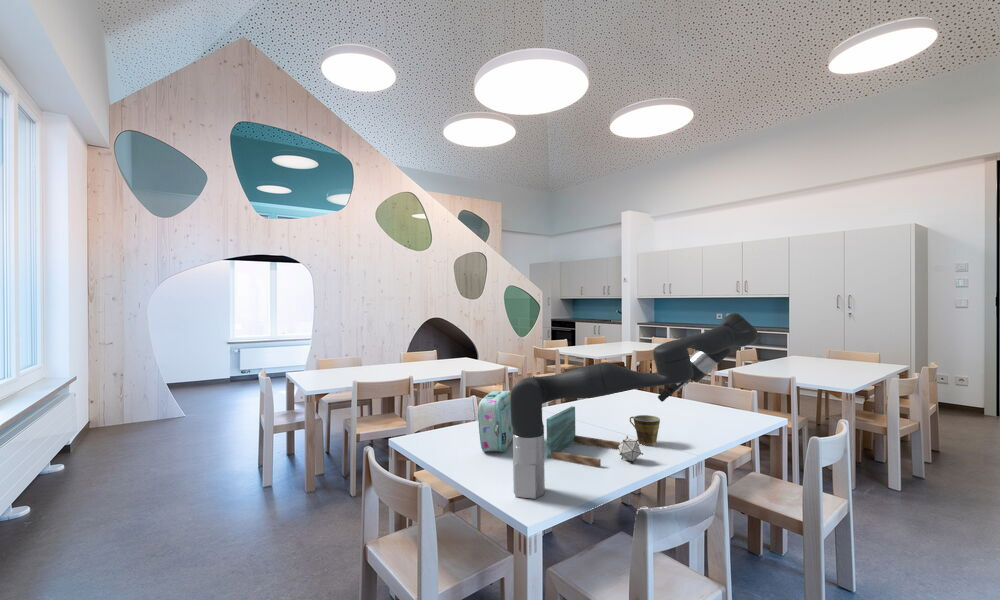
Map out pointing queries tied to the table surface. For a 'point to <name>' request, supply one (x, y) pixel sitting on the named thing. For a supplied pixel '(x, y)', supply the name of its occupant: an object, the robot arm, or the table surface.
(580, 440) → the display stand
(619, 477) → the table surface
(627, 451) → the game die
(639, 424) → the ceramic cup
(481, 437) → the lunch box
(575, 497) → the table surface
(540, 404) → the robot arm
